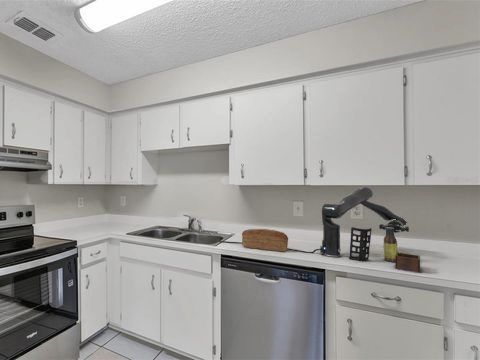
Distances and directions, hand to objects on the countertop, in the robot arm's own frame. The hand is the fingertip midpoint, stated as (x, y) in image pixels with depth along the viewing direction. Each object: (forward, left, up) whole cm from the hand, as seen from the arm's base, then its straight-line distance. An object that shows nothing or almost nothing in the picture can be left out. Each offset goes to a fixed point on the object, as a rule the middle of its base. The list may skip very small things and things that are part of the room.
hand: (392, 229), depth 166 cm
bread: (-66, -36, -18) cm, 78 cm away
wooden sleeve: (+8, -22, -18) cm, 30 cm away
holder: (-13, -21, -18) cm, 31 cm away
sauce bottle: (0, -10, -18) cm, 21 cm away
